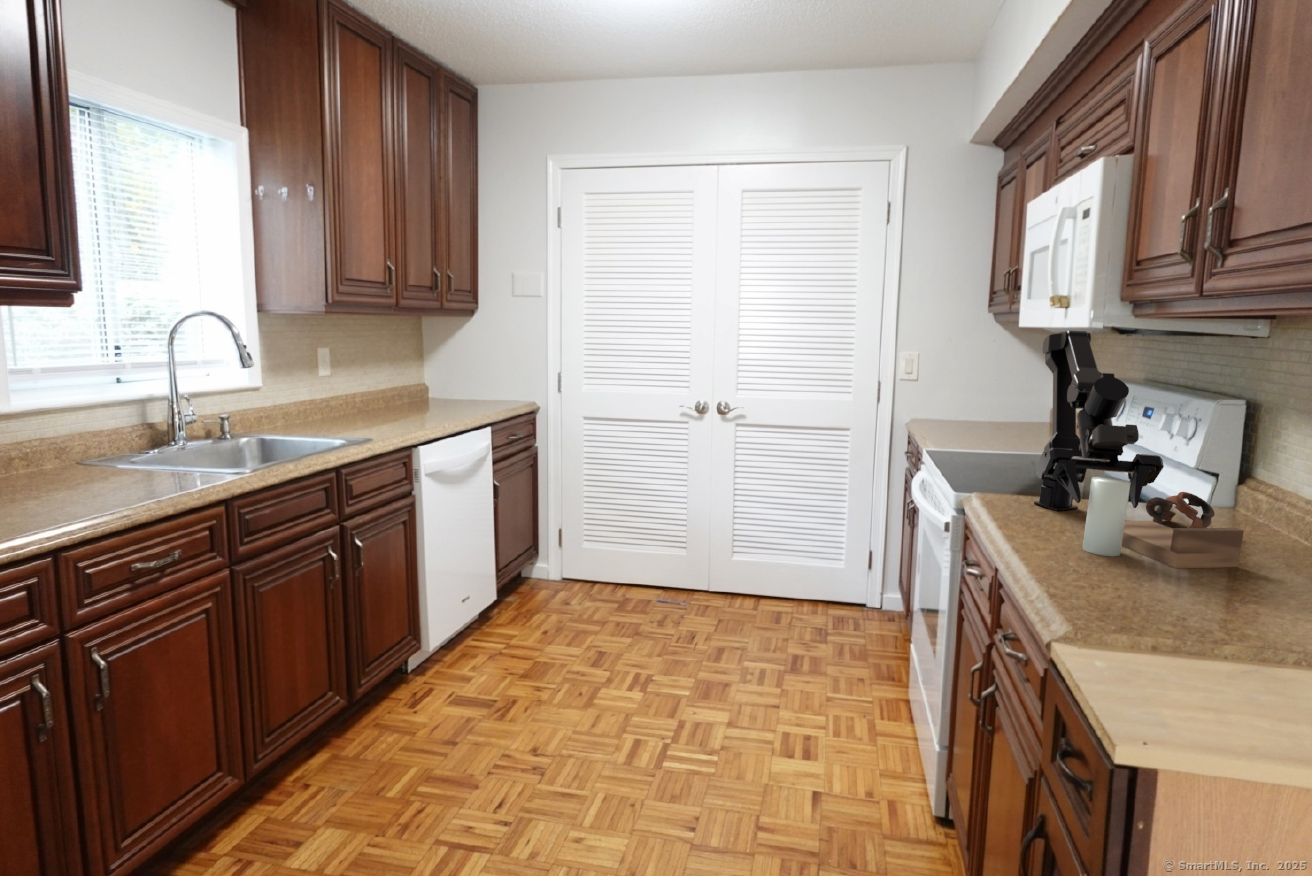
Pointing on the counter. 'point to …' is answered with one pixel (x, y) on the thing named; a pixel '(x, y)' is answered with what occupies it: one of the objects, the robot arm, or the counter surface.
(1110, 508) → the pale upright pillar block
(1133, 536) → the walnut shelf board
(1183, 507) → the rusty ring shackle
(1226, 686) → the counter surface
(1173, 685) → the counter surface
